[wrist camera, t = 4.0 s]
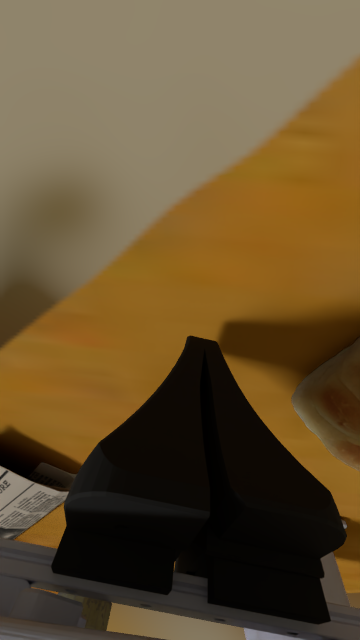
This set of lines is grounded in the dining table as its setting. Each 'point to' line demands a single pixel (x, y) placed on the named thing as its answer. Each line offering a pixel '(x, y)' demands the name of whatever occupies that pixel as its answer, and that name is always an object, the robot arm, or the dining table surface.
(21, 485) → the newspaper
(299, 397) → the pastry
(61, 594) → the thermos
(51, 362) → the dining table surface
